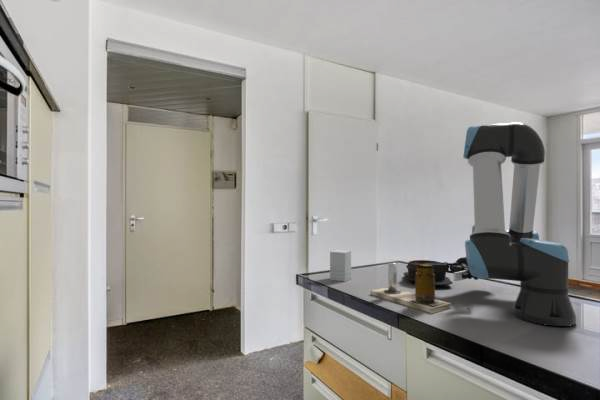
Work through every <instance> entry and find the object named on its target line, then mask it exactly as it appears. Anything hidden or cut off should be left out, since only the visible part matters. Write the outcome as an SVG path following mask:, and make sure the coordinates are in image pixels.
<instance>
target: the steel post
mask: <svg viewBox="0 0 600 400" xmlns="http://www.w3.org/2000/svg"><path fill="white" fill-rule="evenodd" d="M387 265H388V267H387V268H388V269H387V273H388V274H387V287H388V292H391V293H395V292H397V289H398V288H397V287H398V286H397V283H398V282H397V280H398V279H397V278H398V277H397V272H398V271H397V268H398V265H397V262H388V264H387Z"/></svg>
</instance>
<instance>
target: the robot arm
mask: <svg viewBox="0 0 600 400" xmlns="http://www.w3.org/2000/svg"><path fill="white" fill-rule="evenodd" d="M545 151H546V150H545V146H544V143H543V140H542V139H541V137H540V135H539V133H538V132H537V131H536V130H535V129H534V128H533V127H532V126H530V125H528V124H526V123H522V122H517V121H516V122H515V121H514V122H507V123H505V122H504V123H494V124H493V123H492V124H478V125H472V126H469V127H468V128H467V129H466V135H465V141H464V150H463V159H465V160H467V163H468V164H469V166H471V167H472V177H473V178H472V180H473V181H472V182H473V185H472V186H473V216H474V219H473V221H474V224H473V225H472V227H471V234H470V235H469V239H467V240H465V241H464V247H465V256H464V257H459V258H457V260H456V261H455V262H447V261H444V262H441V263H424V264H431V265H433V266H434V268H433V269H434V271H446V274H447V273H449V274H453V282H459V281H463V280H467V279H468V280H471V279H473V280H475V281H477V280H479V279H485V280H489V279H491V280H501V281H502V280H504V281H511V282H512V281H513V282H514V281H515V282H516V281H517V282H520V284H519V285H520V286H519V287H520V289H519V292H518V295H517V297H516V299H515V302H514V305H513V316H515V317H516V316H517V317H516V318H518V319H520V318H521V320H523V319H524V320H523V321H525V320H527V321H526V322H528V321H530V322H529V323H532V322H533V323H532V324H536V323H539V324H538V325H541V324H546V325H554V326H570V325H574V324H577V315H576V312H575V310H574V308H573V307H574V306H573V304H572V301H571V299H570V297H569V263H570V260H569V250H568V247H567V246H566V245H564V244H562V243H560V242H559V243H558V242H552V241H548V240H543V239H540V236H539V233H538V232H537V231H536V230H534V223H535V222H534V221H535V215H536V213H535V212H536V205H537V196H538V189H539V188H538V187H539V180H540V179H539V177H540V170H541V169H540V168H541V165H542V164H544V162H545V155H546V152H545ZM510 157H511V158H510ZM507 158H510V159H511V161H510V162H511V163H512V164H513V177H512V178H513V179H512V186H511V187H512V188H511V189H512V190H511V200H510V202H511V203H510V213H509V228H508V229H506V225H505V222H506V221H505V210H504V191H503V176H502V175H503V174H502V173H503V172H502V165H503V164H504V163H505V162H506V160H507ZM546 325H545V326H546ZM554 326H553V327H554ZM574 326H575V325H574Z"/></svg>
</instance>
